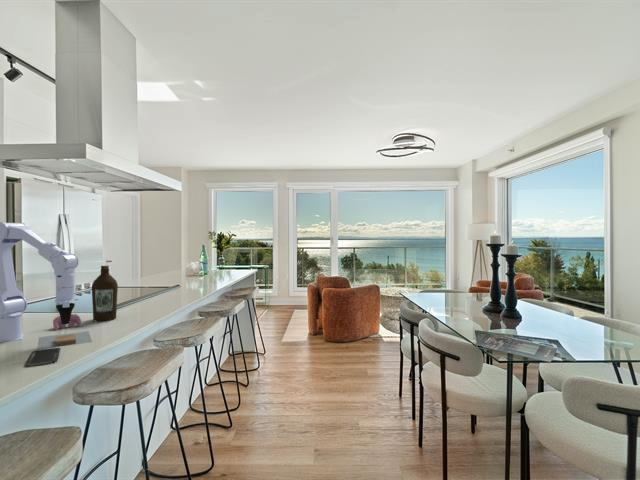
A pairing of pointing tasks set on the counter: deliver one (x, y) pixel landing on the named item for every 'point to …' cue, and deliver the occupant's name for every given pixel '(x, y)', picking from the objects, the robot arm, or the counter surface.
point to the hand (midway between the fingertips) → (65, 323)
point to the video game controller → (73, 320)
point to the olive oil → (104, 296)
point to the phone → (43, 357)
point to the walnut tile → (65, 340)
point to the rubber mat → (50, 340)
